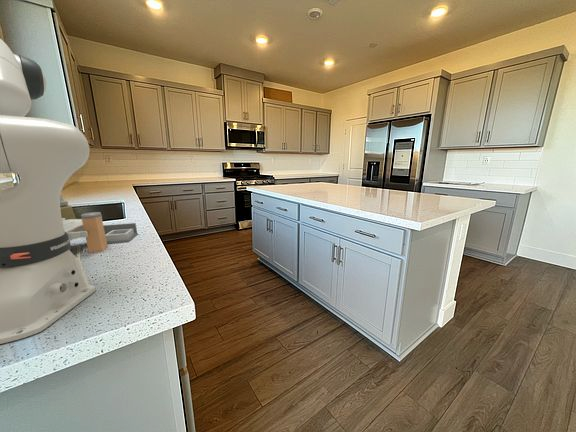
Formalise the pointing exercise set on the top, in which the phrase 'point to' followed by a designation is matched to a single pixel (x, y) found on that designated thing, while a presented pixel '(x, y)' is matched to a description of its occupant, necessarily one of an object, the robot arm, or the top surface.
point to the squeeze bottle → (66, 210)
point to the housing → (119, 233)
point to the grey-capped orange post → (94, 231)
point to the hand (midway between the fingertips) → (95, 229)
